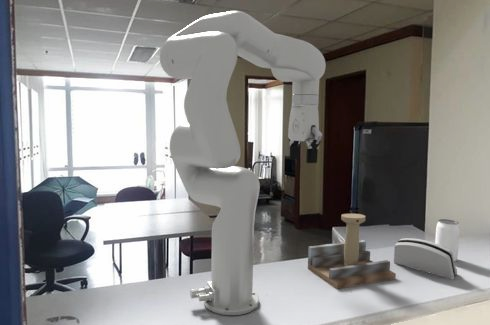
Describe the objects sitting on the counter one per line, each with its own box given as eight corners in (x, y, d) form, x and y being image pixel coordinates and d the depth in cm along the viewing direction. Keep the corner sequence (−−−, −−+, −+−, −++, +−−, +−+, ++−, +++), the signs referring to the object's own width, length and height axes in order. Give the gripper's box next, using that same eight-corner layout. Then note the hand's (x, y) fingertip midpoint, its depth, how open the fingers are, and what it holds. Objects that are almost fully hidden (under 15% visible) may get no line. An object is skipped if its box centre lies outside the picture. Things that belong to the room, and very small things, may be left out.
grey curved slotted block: (458, 274, 108) (457, 244, 105) (453, 284, 106) (452, 254, 102) (399, 258, 120) (397, 231, 117) (393, 267, 117) (390, 239, 114)
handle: (365, 271, 105) (368, 217, 104) (343, 272, 104) (346, 218, 102) (356, 264, 110) (359, 213, 108) (335, 265, 109) (338, 213, 107)
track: (336, 288, 97) (337, 264, 97) (307, 268, 110) (308, 246, 109) (395, 278, 104) (397, 255, 104) (361, 260, 117) (363, 240, 117)
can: (461, 262, 117) (464, 224, 116) (439, 262, 118) (443, 224, 116) (450, 255, 124) (453, 219, 123) (430, 254, 124) (433, 218, 123)
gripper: (279, 102, 117) (277, 158, 119) (309, 100, 101) (306, 164, 103) (301, 103, 120) (299, 157, 122) (333, 101, 104) (330, 164, 106)
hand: (302, 160), depth 112 cm, fingers open, 9 cm apart
